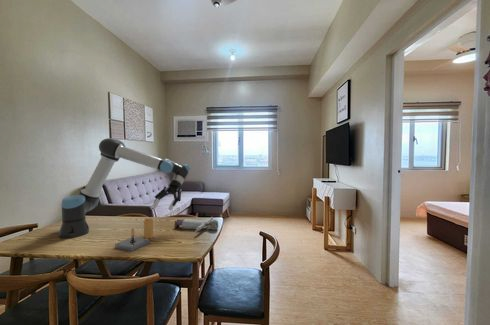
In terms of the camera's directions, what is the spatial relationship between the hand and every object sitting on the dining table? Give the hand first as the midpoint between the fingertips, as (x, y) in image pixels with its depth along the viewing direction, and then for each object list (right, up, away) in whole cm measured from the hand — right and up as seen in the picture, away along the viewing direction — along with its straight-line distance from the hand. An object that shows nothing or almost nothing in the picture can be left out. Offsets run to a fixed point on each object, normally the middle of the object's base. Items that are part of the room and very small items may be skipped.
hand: (161, 208), depth 144 cm
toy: (+22, -15, +6) cm, 27 cm away
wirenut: (-4, -15, -9) cm, 18 cm away
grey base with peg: (-7, -15, -22) cm, 28 cm away
